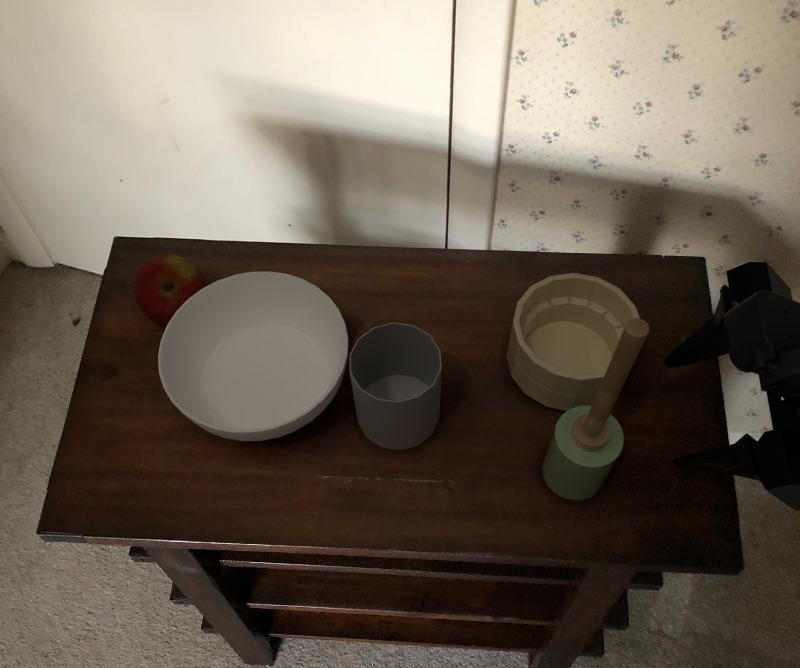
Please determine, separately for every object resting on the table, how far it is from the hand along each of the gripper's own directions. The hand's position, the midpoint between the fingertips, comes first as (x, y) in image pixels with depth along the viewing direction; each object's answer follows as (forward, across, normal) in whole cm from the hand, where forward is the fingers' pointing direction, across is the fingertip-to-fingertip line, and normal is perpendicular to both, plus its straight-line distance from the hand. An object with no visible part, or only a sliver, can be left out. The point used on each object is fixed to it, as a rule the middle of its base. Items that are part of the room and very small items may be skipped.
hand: (670, 412), depth 62 cm
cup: (+26, -6, -7) cm, 27 cm away
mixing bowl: (+13, -12, +5) cm, 19 cm away
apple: (+43, -16, -24) cm, 52 cm away
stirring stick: (+8, 0, 0) cm, 8 cm away
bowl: (+36, -8, -16) cm, 40 cm away
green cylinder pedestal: (+13, 0, +5) cm, 14 cm away
